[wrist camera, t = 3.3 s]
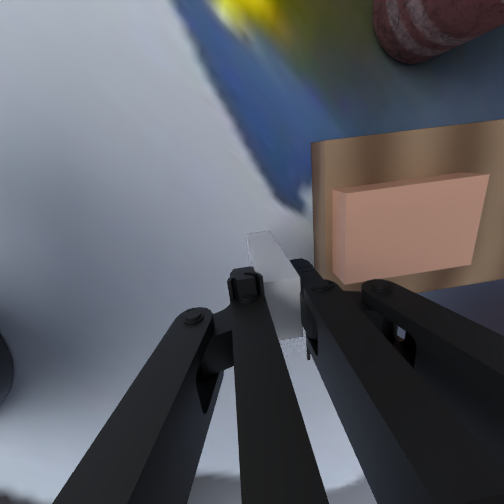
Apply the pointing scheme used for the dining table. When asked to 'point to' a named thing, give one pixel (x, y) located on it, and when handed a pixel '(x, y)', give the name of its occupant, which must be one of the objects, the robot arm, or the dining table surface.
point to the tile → (406, 226)
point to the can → (432, 25)
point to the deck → (410, 167)
